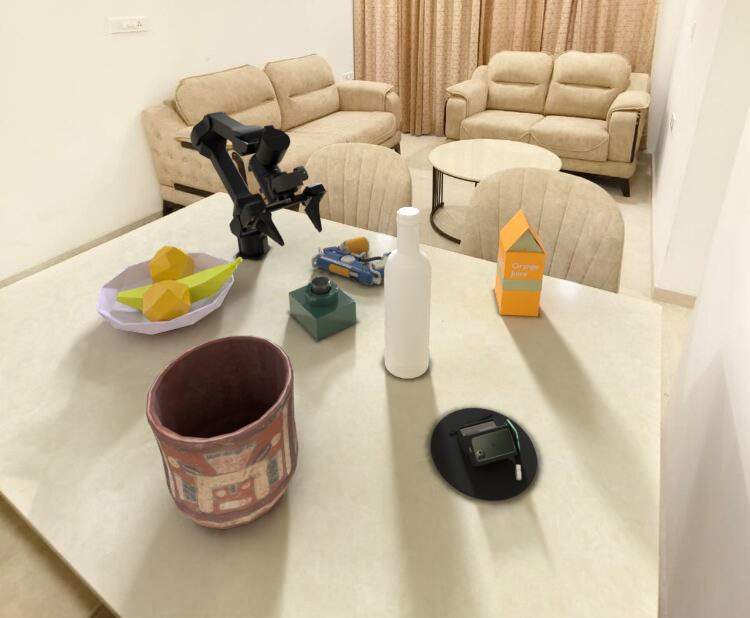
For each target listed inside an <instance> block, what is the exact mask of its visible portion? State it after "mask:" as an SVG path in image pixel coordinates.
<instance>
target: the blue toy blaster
mask: <svg viewBox="0 0 750 618" xmlns="http://www.w3.org/2000/svg"><path fill="white" fill-rule="evenodd" d="M370 247H371V246H370V242H369V239H368V238H367V237H366V236H359V237H354V238H349V239H345V240H343V241H342V242H341V243H340V244H338V245H337V246H336V245H335V246H327V247H323V248H321V246H318V250H317V251H318V252H317V253H315V254H314V255H313V257H311V268H313V269H314V268H316V267H317V268H319V269H321V270H324V271H327V272H330V273H332V274H335V275H338V276H341V277H344V278H347V279H349V280H352V281H355V282H358V283H361V284H362V285H363V284H364V285H366V286H370V285H373V284H374V285H380V284H381V283H382V280H384V268H385V265H386V262H387V259H388V257H389V254H391V253H392V252H393V251H389V252H384V253H383V255H382V256H379V255H377V256H373V257H368V258H367V254H368V253H369V251H370V249H371V248H370ZM374 261H375V262H374ZM371 262H372V263H371ZM366 263H367V264H366ZM364 264H366V265H364Z"/></svg>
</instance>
